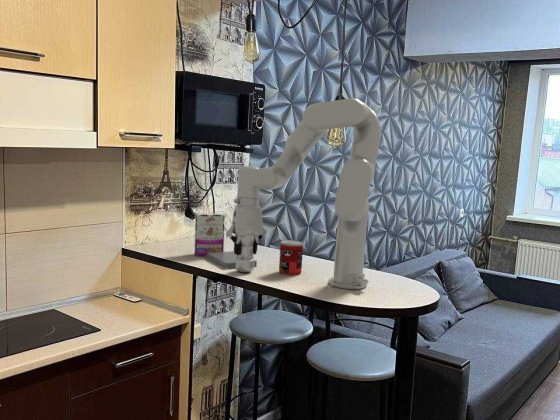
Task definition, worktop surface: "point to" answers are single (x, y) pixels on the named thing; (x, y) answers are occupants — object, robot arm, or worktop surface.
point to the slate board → (225, 259)
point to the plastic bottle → (246, 253)
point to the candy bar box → (209, 233)
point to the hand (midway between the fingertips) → (245, 253)
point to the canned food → (291, 257)
